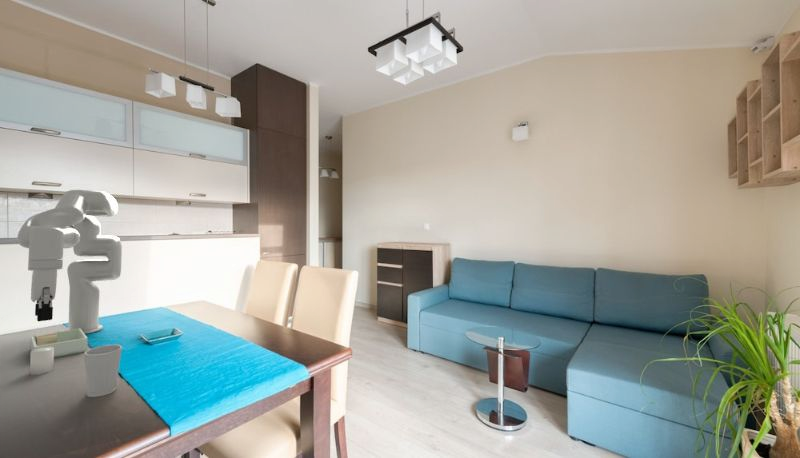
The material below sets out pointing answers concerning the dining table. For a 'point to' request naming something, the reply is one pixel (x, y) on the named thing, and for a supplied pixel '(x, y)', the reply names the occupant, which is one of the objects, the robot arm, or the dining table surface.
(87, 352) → the cup
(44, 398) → the dining table surface
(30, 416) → the dining table surface
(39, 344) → the beech cube
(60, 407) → the dining table surface
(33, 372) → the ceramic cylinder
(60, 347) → the tote
